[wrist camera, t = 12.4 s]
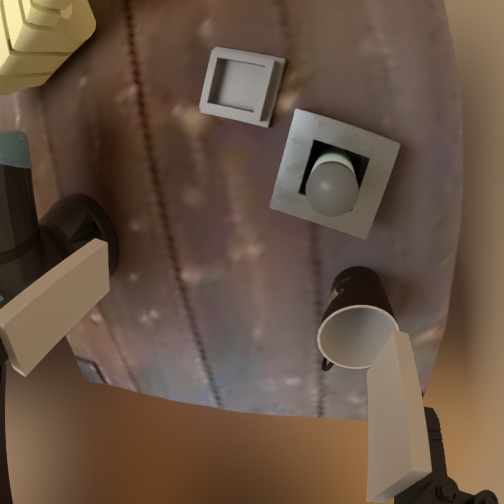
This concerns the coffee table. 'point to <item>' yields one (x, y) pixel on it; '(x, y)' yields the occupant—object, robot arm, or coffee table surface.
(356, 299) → the coffee mug
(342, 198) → the plug
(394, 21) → the coffee table surface
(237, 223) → the coffee table surface
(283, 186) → the port block
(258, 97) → the grey square open tray
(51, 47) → the slatted curved stool
